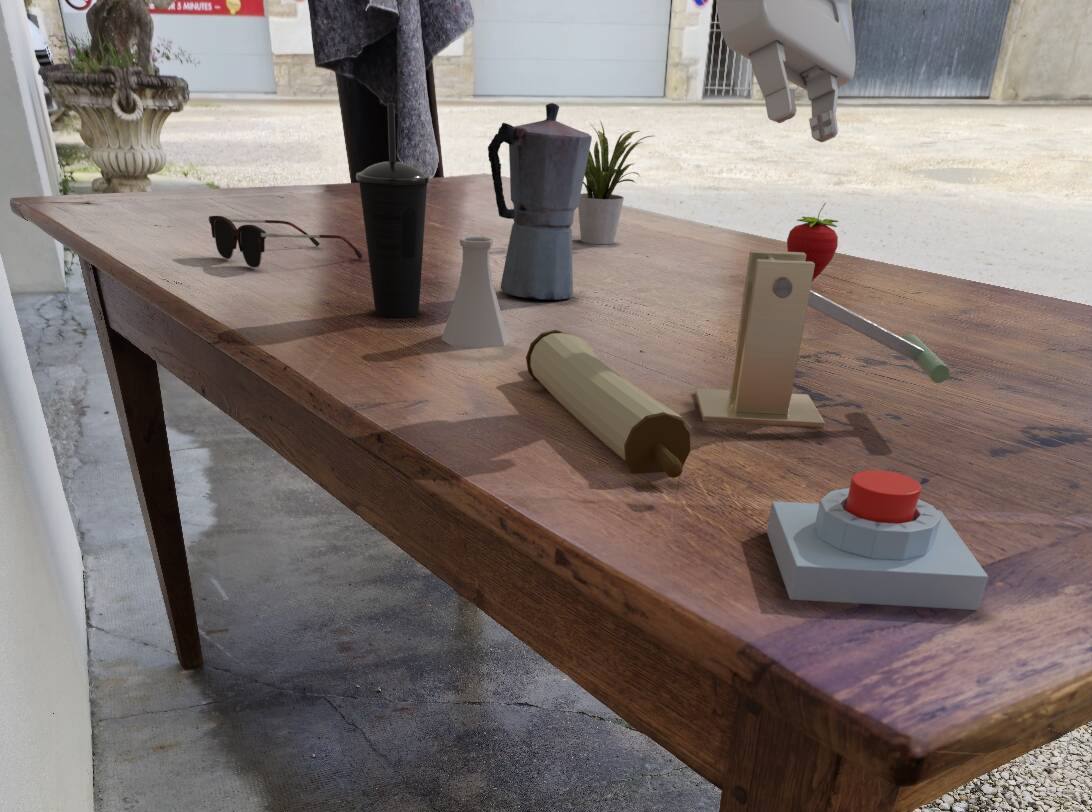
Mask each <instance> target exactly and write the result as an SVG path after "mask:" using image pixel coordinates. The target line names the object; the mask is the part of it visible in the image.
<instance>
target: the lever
mask: <svg viewBox="0 0 1092 812" xmlns="http://www.w3.org/2000/svg"><path fill="white" fill-rule="evenodd" d="M767 260H776V259H774V258H772V257H770V256H769V257H768V259H767ZM807 307H810V308H812V309H813V310H816V311H817V312H819V313H822V314H823V315H825V316H828V317H829V318H831V319H833V320H835V321H837V322H839V323H841V324H843V325H844V326H847V327H849V328H850V329H852V330H854V331H856V332H858V333H860V334H862V335H864V336H865V337H868V338H869V339H871V340H873V341H875V342H877V343H879V344H881V345H883V346H885V347H887V348H889V349H891V350H893V351H895V352H896V353H899V354H900V355H902V356H904V357H906V358H908V359H910V360H912V361H913V362H914V363H915V364H916V365H917V367H918V368H920V369H921V371H923V372H924V374H926V376H927V377H928V378H929V379H930V380H931V381H932V382H934V383H935V384H940V383H941V384H942V383H943V382H945V381H947V380H948V378H949V376H950V371H951V370H950V368H949V366H948V364H945V362H943V360H942V359H940V358H939V356H937V354H935V353H934V352H933V351H932V350H931V349H930V348H929V347H928V346H927V345H926V344H925V343H924V342H923V341H922V340H921V339H920V338H919V337H917V335H915V334H913V333H908V334H905V336H903V337H901V336H900V335H898V334H896V333H894V332H892V331H890V330H889V329H887V328H884V327H882V326H880V325H879V324H877V323H875V322H873V321H871V320H869V319H868V318H866V317H864V316H862V315H860V314H858V313H856V312H854V311H852V310H850V309H849V308H847V307H844V306H843V305H841V304H839V303H837V302H835V301H833V300H831V299H829V298H827V297H825V296H823V295H821V294H819V293H818V292H816V291H814V290H812V289H810V295H809V301H808V306H807Z"/></svg>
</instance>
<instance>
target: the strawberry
mask: <svg viewBox="0 0 1092 812" xmlns="http://www.w3.org/2000/svg"><path fill="white" fill-rule="evenodd" d="M826 204H827V203H826V202H824V204H823V206H822V207H821V208H820V211H819V212H818V215H817V217H816V216H815V217H814V216H813V217H812V216H801V218H798V219H796V221H797V222H803V223H802V224H798V225H795V226H794V227H792V229H790V231H789V233H788V236H787V239H786V246H787V247H786V248H787V252H800V253H805V254H806V260H805V261H806V262H813V263H814V264H815V267H814V273H813V278H812V282H813V281H814V280H815V279H817V278H818V276H819V275H820V274H821V273H823V271H824V270H826V269H825V268H826V267H827V266H828V265H829V264H830V262H831V261H832V260H833V259H834V255H835V253H836V251H837V249H838V246H839V245H838V244H839V238H838V234H837V233H836V231H835V229H833V228H837V227H838V226H837V225H836V224H834V223H839V220H836V219H830V218H825V219H820V214H821V212H822V210H823V209H824V207H825V206H826ZM831 227H833V228H831Z"/></svg>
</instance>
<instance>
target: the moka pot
mask: <svg viewBox="0 0 1092 812" xmlns="http://www.w3.org/2000/svg"><path fill="white" fill-rule="evenodd" d="M559 110H560V105H558V104H557V103H554V102H550V103H547V104H545V113H546V115H545V116H546V118H545V119H543V120H540V121H539V120H538V121H535V122H529V123H525V124H520V125H515V126H513V125H512V124H509V123H507V122H502V123H501V126H500V127H498V131H497V133H495V135H494V136H493V138H492V139H491V142H490V143H489V144H488V146H487V151H488V152H487V153H488V156H487V157H488V161H489V163H490V169H491V170H490V171H491V177H492V181H493V189H494V194H495V202H496V206H497V207H496V208H497V210H498V216H499V217H501V218H504V219H506V220H507V219H509V220H513V222H512V223H513V224H512V226H511V230H510V235H509V241H508V246H507V251H506V256H505V262H504V267H503V272H502V276H501V281H500V289H501V291H502V292H503V293H504V294H507V295H509V296H514V297H519V298H524V299H534V300H547V301H559V300H567V299H571V298H572V297H573V293H574V282H573V281H574V279H573V277H574V275H573V230H572V228H571V226H572V225H573V224H574V216H575V210H577V209H578V205H579V200H580V195H581V194H582V189H583V185H584V184H583V182H584V181H585V176H584V175H585V170H586V165H587V160H588V155H589V150H590V151H591V145H592V141H593V140H592V139H593V137H592V135H590V134H589V133H588V132H585V131H581V130H579V129H577V128H574V127H571V126H570V125H566V124H564V123H563V122H560V121H557V117H558V113H559ZM503 143H506V144H507V145H508V152H509V153H508V160H509V186H510V187H509V188H510V201H511V202H512V205H513V208H510V209H509V208H508V207H507V204H506V200H505V196H504V188H503V181H502V180H503V179H502V163H501V159H500V155H499V150H500V149H501V145H502V144H503Z"/></svg>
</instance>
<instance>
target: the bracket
mask: <svg viewBox="0 0 1092 812" xmlns="http://www.w3.org/2000/svg"><path fill="white" fill-rule="evenodd" d="M769 256H770V257H772V258H774V259H776V260H767V259H768V257H769ZM805 260H806V254H805V253H800V252H788V251H781V250H780V251H778V250H760V249H759V250H757V249H750V250H749V255H748V261H747V262H748V263H747V270H746V278H745V283H744V290H743V296H742V304H741V310H740V311H741V312H740V318H739V323H738V324H739V325H738V331H737V338H736V343H735V344H736V345H735V350H734V351H735V352H734V359H733V365H732V372H731V378H730V379H731V380H730V386H729V389H715V388H714V389H713V388H695V392H694V395H695V399H696V402H697V406H698V410H699V413H700V416H701V419H702V422H711V423H712V422H713V423H729V424H748V425H766V426H786V427H804V428H806V427H807V428H821V429H822V428H823V429H824V427H825V423H826V422H825V421H824V419H823V417H822V415H821V414H820V412H819V410H818V409H817V407H816V406H815V403H814V402H813V400H812V398H811V397H810V395H809V394H807V393H793V389H794V384H795V376H796V372H797V367H798V360H799V355H800V351H801V345H802V338H803V332H804V327H805V322H806V317H807V312H808V311H807V310H808V307H809V306H808V301H809V295H810V290H812V283H813V281H812V278H813V273H814V267H815V264H814V263H813V262H806V261H805Z"/></svg>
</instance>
